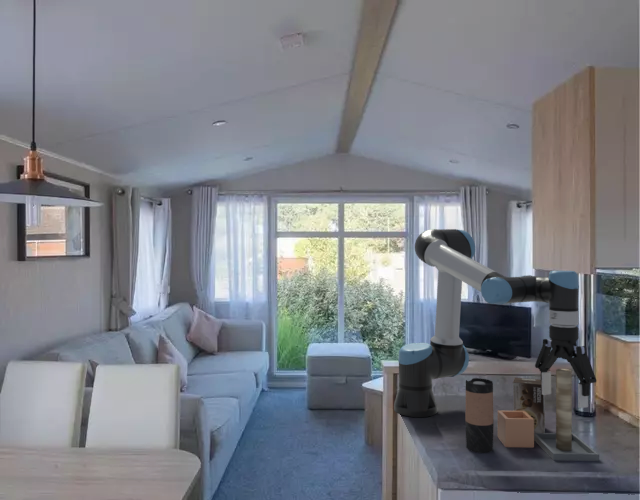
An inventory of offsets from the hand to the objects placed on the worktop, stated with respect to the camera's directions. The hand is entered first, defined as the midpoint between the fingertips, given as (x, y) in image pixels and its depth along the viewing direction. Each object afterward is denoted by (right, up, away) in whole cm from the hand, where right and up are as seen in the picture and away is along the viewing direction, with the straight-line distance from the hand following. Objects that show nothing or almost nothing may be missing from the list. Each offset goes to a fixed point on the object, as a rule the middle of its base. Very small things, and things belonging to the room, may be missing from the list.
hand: (563, 400), depth 150 cm
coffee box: (-3, -15, +17) cm, 23 cm away
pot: (-12, -15, +6) cm, 20 cm away
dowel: (0, -13, 0) cm, 13 cm away
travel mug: (-24, -15, +1) cm, 28 cm away
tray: (0, -15, 0) cm, 15 cm away
